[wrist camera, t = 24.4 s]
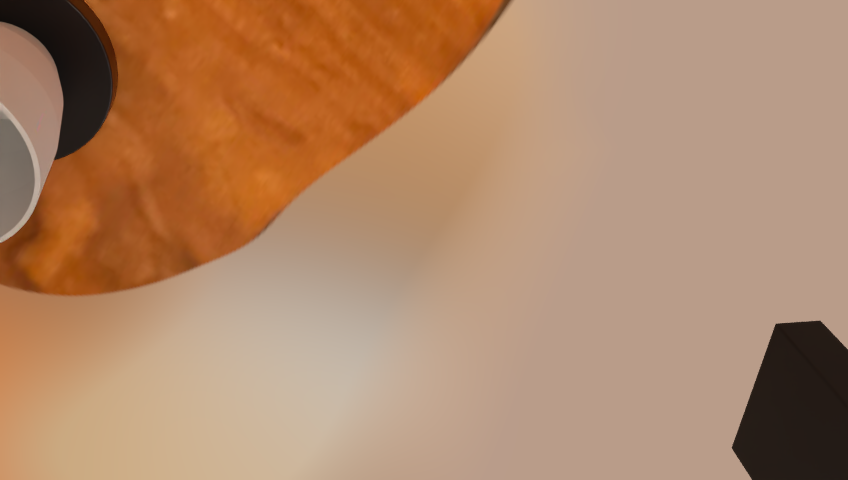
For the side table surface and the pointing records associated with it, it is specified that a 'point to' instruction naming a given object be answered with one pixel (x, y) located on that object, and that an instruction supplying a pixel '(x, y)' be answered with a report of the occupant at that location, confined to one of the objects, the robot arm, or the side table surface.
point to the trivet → (72, 62)
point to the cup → (25, 124)
